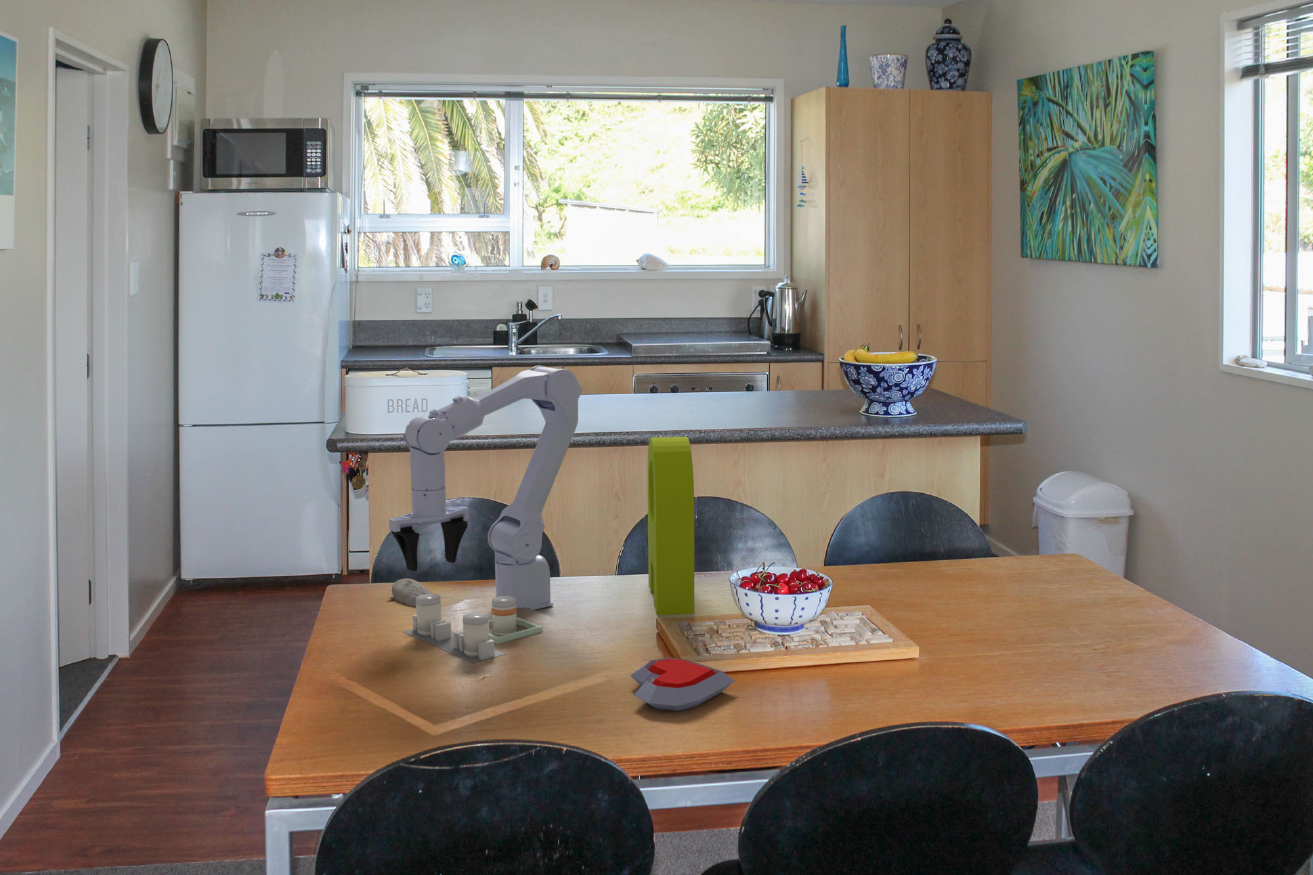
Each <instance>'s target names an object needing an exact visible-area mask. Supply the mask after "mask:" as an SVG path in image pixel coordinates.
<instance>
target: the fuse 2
mask: <svg viewBox="0 0 1313 875" xmlns="http://www.w3.org/2000/svg"><path fill="white" fill-rule="evenodd" d="M489 620H490V618H489V614H488V613H486V612H469V613H466V614H464V615H462V630H463V639H464V655H465V656H468V657H479V654H478V643H480V642H484V641H487V640H489V633H490V627H489Z"/></svg>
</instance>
